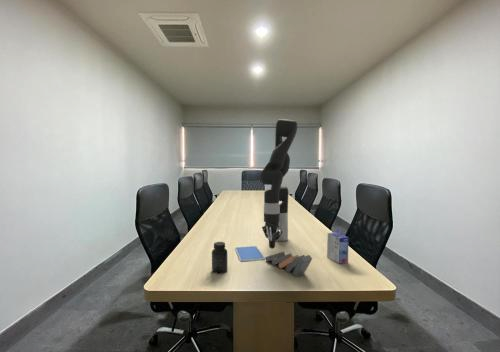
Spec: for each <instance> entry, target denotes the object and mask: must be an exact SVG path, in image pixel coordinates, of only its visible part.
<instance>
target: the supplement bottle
mask: <svg viewBox="0 0 500 352" xmlns="http://www.w3.org/2000/svg"><path fill="white" fill-rule="evenodd" d="M228 266H229V264H228V249H226V243H225V242H223V241H217V242H214V243H213V249H212V251H211V271H212V273H214V274H224V273H226V272H227V271H228Z"/></svg>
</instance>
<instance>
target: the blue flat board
mask: <svg viewBox="0 0 500 352" xmlns="http://www.w3.org/2000/svg"><path fill="white" fill-rule="evenodd" d="M234 250H235V253H236V254H237V257H238V260H239V261H240V262H242V263H243V261H244V262H255V261H263V260H264V261H265V260H266V259H265V256H264V254H263V253H262V252H261V250H260V249H259V248H258V246H256V245H254V246H240V247H239V246H238V247H235V248H234Z"/></svg>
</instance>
